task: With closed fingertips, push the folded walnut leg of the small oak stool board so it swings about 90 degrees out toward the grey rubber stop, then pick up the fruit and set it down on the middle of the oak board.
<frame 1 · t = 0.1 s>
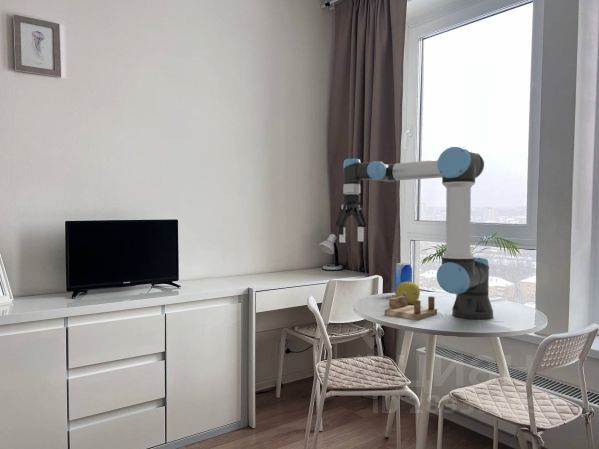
hand: (351, 241, 206), 28 cm above the table, fingers open, 13 cm apart
stool seat: (410, 314, 185), on the table
hinge leg: (398, 300, 190), point 5 cm above the table, hinge at 90.0°
fruit: (407, 304, 209), on the table
leg stop: (396, 307, 200), on the table
beer can: (403, 296, 229), on the table
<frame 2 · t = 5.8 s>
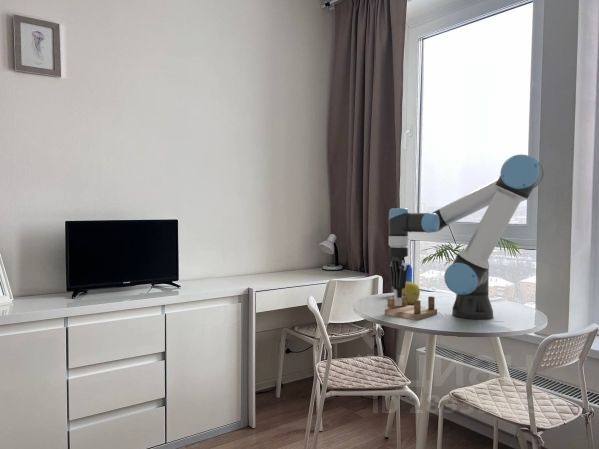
hand: (397, 305, 186), 3 cm above the table, fingers closed
hinge leg: (397, 300, 190), point 5 cm above the table, hinge at 84.4°
everything else where it was.
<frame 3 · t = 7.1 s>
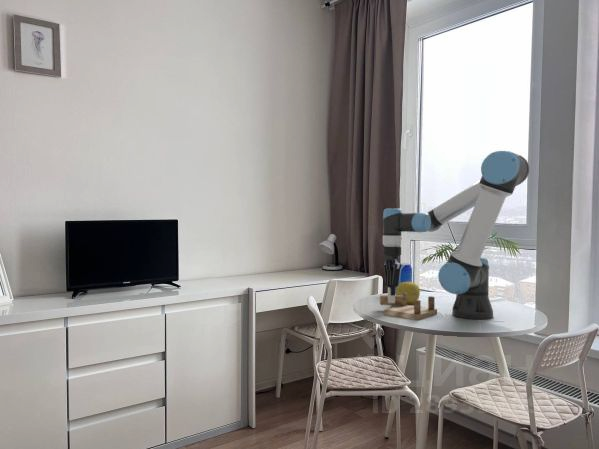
hand: (391, 302, 191), 3 cm above the table, fingers closed
hinge leg: (393, 298, 193), point 5 cm above the table, hinge at 39.5°, touching gripper
everything else where it was.
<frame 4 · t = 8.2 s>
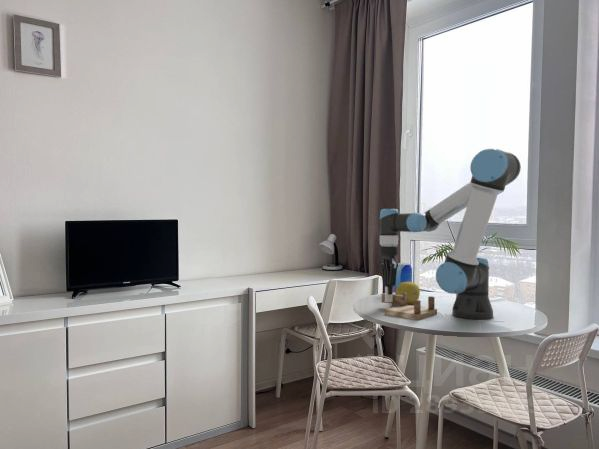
hand: (388, 301, 194), 3 cm above the table, fingers closed
hinge leg: (394, 297, 196), point 5 cm above the table, hinge at 5.7°, touching gripper
everything else where it was.
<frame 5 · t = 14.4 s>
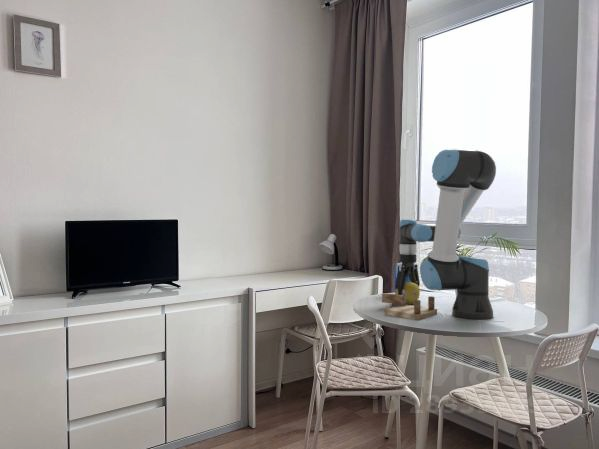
hand: (407, 302, 209), 0 cm above the table, fingers closed on fruit, 11 cm apart
hinge leg: (394, 297, 196), point 5 cm above the table, hinge at 3.1°
fruit: (407, 304, 209), on the table, touching gripper
everything else where it was.
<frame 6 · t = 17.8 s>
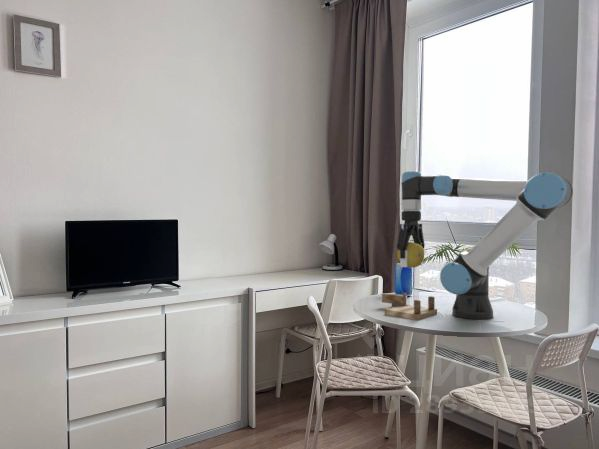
hand: (411, 265, 185), 19 cm above the table, fingers closed on fruit, 11 cm apart
fruit: (410, 267, 185), point 19 cm above the table, touching gripper
everything else where it was.
when the fingers open (3 cm above the table, at t = 21.2 s): fruit stays where it is, resting on stool seat.
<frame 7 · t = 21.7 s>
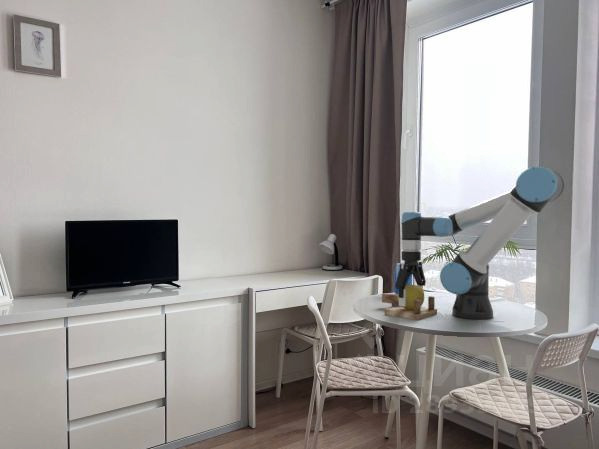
hand: (411, 303, 185), 4 cm above the table, fingers open, 13 cm apart
fruit: (410, 309, 185), point 2 cm above the table, touching stool seat
everything else where it was.
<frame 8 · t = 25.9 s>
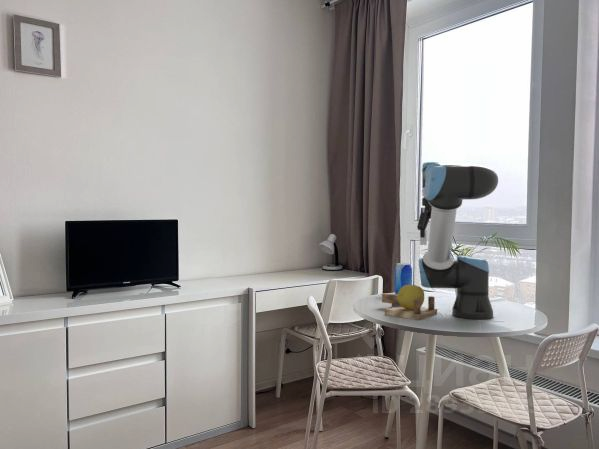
hand: (430, 244, 208), 27 cm above the table, fingers open, 13 cm apart
nothing on the table moved.
at the end: hinge leg at +3° (first picture: +90°); fruit inside the target area on the stool seat (0.0 cm from its centre), point 1.8 cm above the stool seat's base; the gripper is holding nothing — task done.
